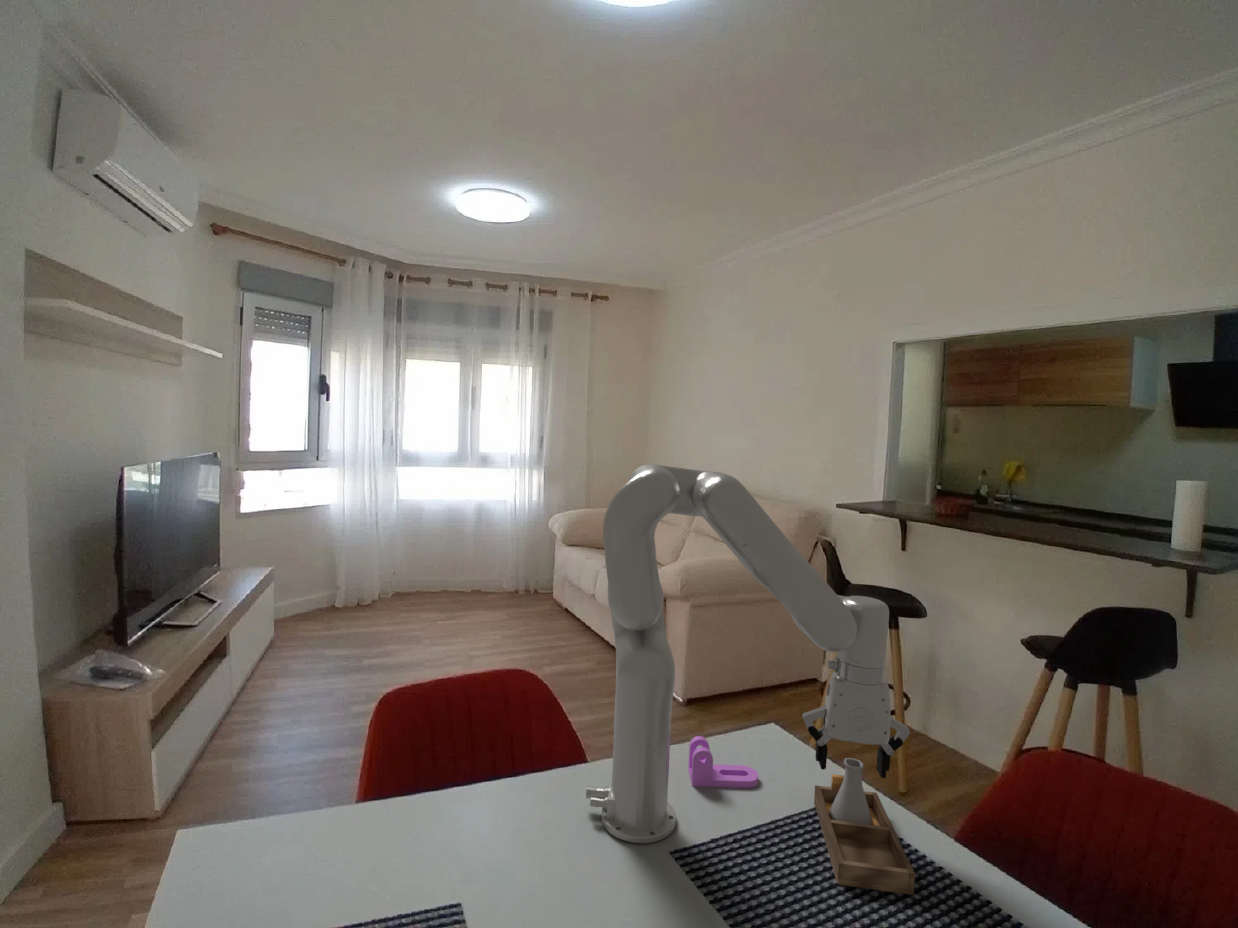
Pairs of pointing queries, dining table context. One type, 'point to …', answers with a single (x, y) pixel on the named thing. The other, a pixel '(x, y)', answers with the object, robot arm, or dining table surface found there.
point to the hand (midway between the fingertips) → (851, 769)
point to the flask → (851, 796)
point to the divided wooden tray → (864, 846)
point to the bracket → (716, 769)
